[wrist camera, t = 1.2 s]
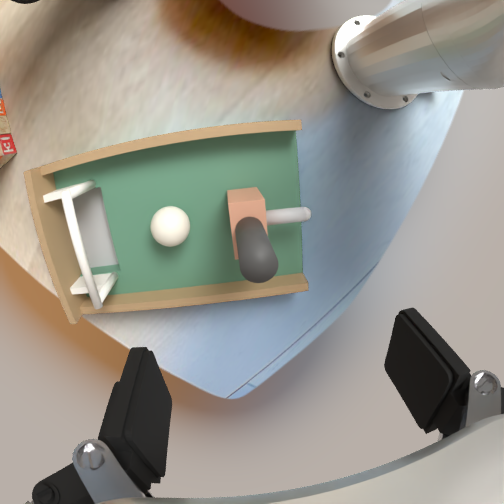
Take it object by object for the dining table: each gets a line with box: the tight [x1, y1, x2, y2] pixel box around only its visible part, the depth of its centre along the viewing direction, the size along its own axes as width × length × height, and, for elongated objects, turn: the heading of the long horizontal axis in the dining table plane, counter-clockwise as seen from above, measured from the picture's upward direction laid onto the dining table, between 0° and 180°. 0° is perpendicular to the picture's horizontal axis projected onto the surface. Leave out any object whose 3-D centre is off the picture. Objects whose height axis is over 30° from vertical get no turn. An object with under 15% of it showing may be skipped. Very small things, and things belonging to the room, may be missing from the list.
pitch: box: [24, 120, 308, 324], centre depth 28 cm, size 28×18×9 cm, turn 95°
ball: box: [150, 206, 190, 247], centre depth 28 cm, size 4×4×4 cm
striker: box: [227, 187, 311, 283], centre depth 24 cm, size 8×5×13 cm, turn 96°
